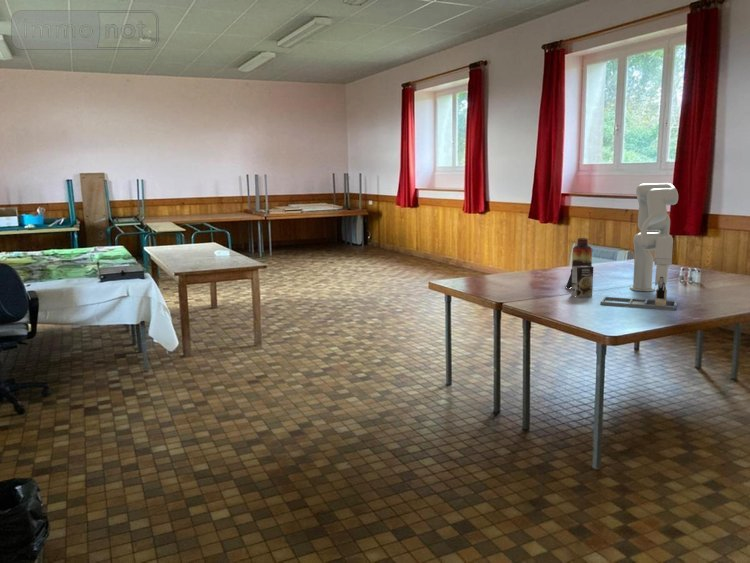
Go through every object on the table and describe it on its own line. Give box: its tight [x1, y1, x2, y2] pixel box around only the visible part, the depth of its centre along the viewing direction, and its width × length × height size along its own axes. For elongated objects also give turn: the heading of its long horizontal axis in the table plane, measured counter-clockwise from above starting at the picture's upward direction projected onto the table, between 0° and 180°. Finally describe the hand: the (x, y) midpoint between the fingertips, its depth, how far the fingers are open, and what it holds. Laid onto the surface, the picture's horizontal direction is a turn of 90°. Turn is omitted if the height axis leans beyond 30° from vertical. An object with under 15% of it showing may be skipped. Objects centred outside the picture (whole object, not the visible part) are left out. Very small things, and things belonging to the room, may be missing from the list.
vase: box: [571, 237, 593, 267], centre depth 366 cm, size 11×11×26 cm
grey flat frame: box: [599, 296, 678, 311], centre depth 302 cm, size 14×34×2 cm, turn 62°
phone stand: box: [565, 268, 572, 288], centre depth 346 cm, size 9×6×12 cm, turn 44°
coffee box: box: [570, 265, 594, 298], centre depth 325 cm, size 9×6×16 cm
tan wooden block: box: [654, 288, 668, 306], centre depth 297 cm, size 4×4×8 cm
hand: (661, 296), depth 297 cm, fingers open, 9 cm apart
